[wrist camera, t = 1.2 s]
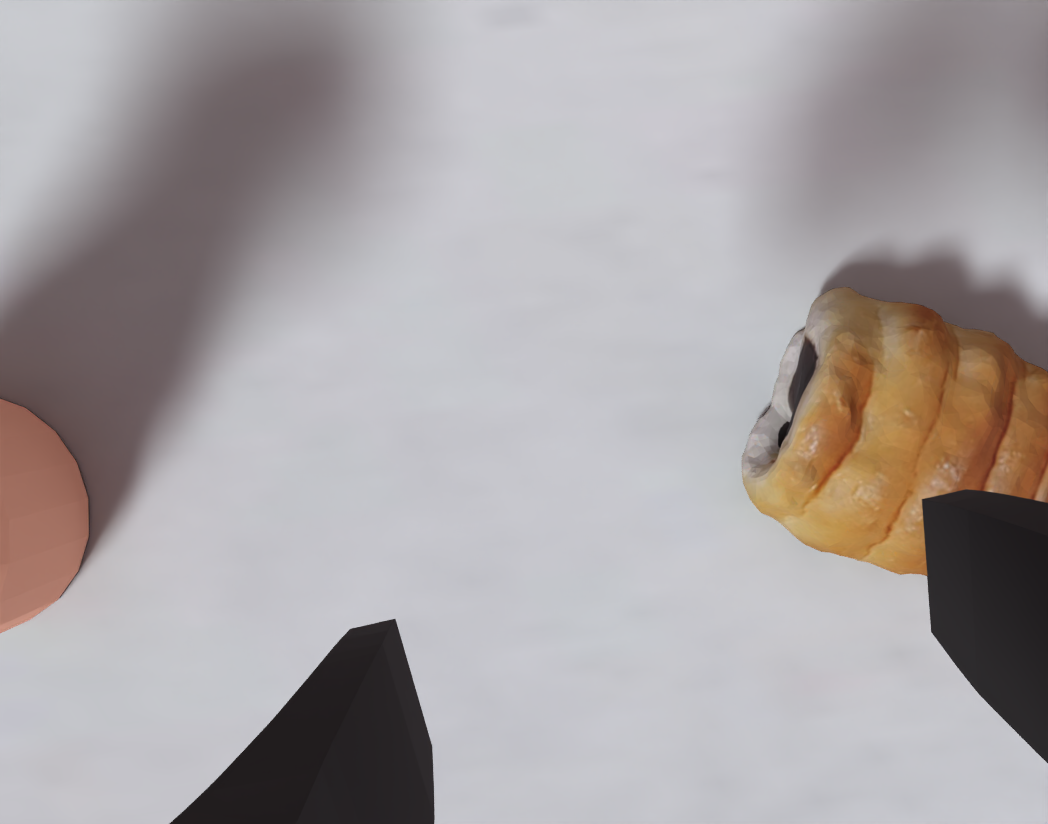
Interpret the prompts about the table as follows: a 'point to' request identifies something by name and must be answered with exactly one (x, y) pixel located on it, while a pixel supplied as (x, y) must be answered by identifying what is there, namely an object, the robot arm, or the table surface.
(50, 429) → the pepper shaker
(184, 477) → the table surface
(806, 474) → the pastry
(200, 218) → the table surface
